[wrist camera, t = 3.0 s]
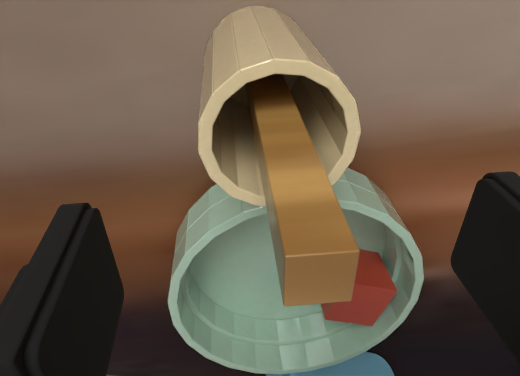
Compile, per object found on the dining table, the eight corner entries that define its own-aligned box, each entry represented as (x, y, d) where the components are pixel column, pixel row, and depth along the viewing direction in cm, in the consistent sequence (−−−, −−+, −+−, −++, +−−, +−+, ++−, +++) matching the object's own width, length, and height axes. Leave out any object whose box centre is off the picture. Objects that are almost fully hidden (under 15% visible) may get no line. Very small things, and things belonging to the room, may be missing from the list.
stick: (242, 49, 21) (284, 256, 8) (271, 48, 21) (361, 251, 8) (243, 78, 22) (283, 308, 9) (271, 77, 22) (352, 301, 9)
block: (313, 279, 32) (324, 319, 29) (333, 243, 30) (347, 282, 27) (356, 286, 33) (372, 326, 30) (378, 252, 31) (398, 291, 28)
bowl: (236, 114, 24) (240, 153, 20) (441, 206, 30) (477, 252, 25) (143, 292, 32) (132, 347, 28) (319, 338, 37) (331, 390, 33)
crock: (232, -16, 20) (244, 25, 12) (326, 37, 22) (393, 106, 14) (189, 83, 23) (173, 175, 14) (276, 123, 25) (306, 225, 16)
